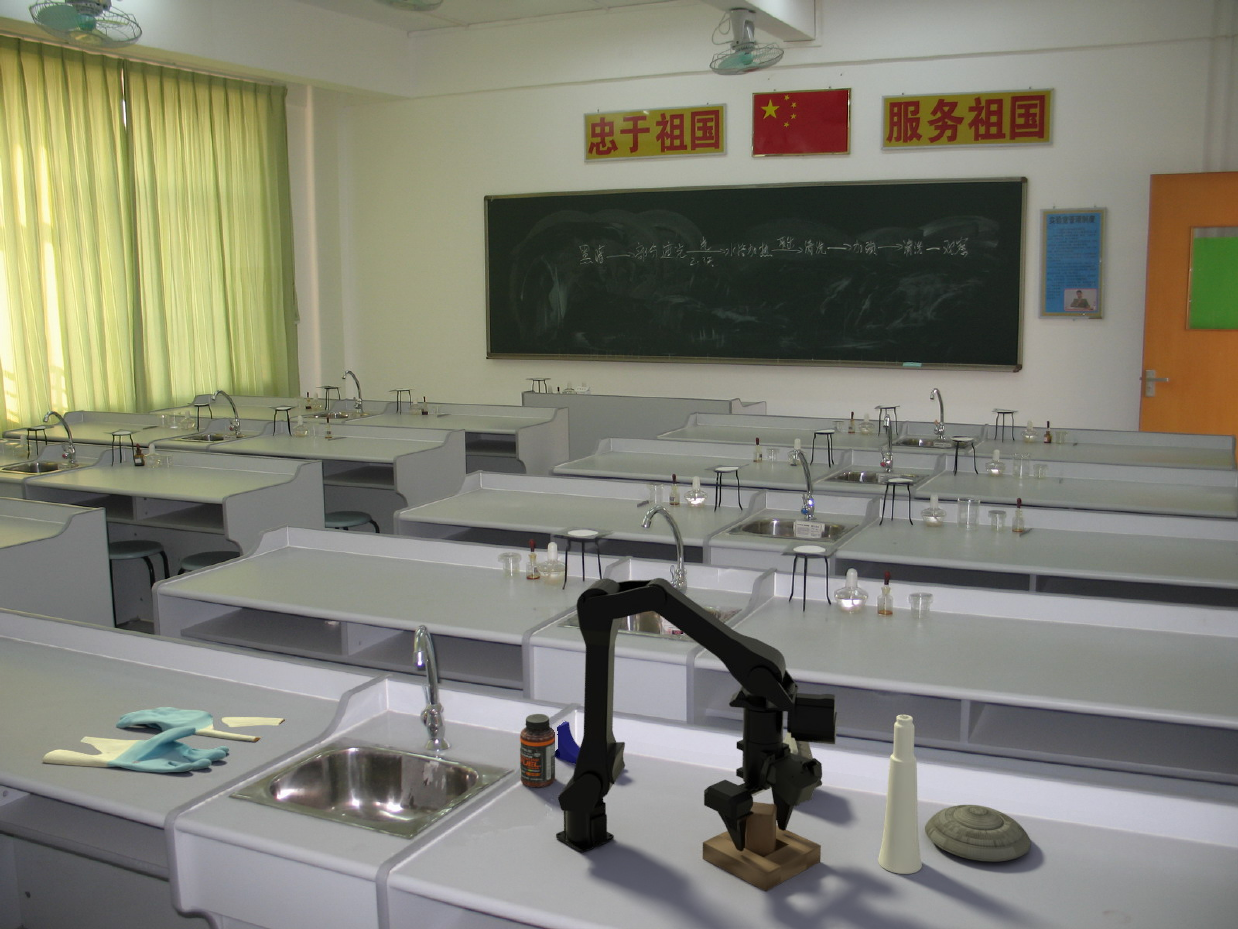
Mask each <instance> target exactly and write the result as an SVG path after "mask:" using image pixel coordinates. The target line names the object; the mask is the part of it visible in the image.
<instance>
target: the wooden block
mask: <svg viewBox="0 0 1238 929" xmlns="http://www.w3.org/2000/svg"><path fill="white" fill-rule="evenodd" d="M750 811H752V812H754V813H753V814H752V815H751V816H750V817H749V818H748V819H747V821H746V842H745V849H747V850H749V851H751V852H753V853H755V854H757V855H760V856H762V857H765V856H767V855H769V854H771V853H773V852H775V851H776V825H777V820H776V813H777V807H776V805H775V804H774V803H768V802H767V803H765V802H757V801H753V806H752V808H751V810H750Z"/></svg>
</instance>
